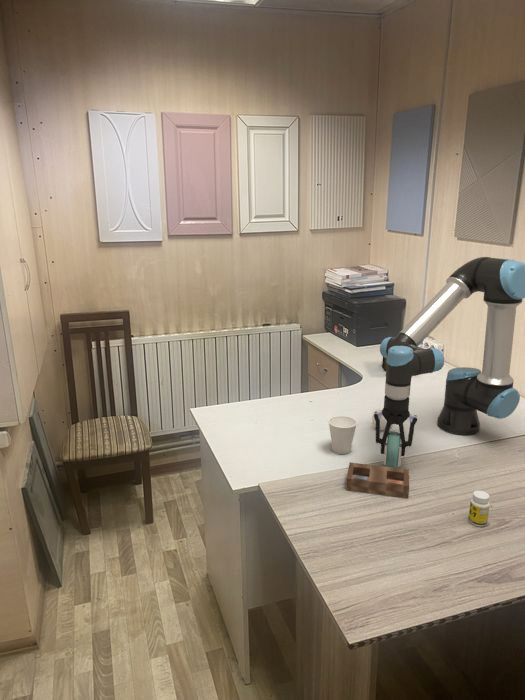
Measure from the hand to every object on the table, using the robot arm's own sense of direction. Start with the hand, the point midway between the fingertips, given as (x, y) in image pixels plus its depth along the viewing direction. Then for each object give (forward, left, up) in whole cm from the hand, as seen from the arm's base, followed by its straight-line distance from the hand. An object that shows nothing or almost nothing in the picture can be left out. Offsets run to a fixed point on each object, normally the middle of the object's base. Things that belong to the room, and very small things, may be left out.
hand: (391, 463), depth 167 cm
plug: (0, 0, -2) cm, 2 cm away
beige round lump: (+4, -29, -2) cm, 29 cm away
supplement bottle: (-23, +24, -2) cm, 33 cm away
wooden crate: (+2, -102, -3) cm, 102 cm away
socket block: (+4, +12, -2) cm, 13 cm away
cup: (+17, -8, -2) cm, 19 cm away
